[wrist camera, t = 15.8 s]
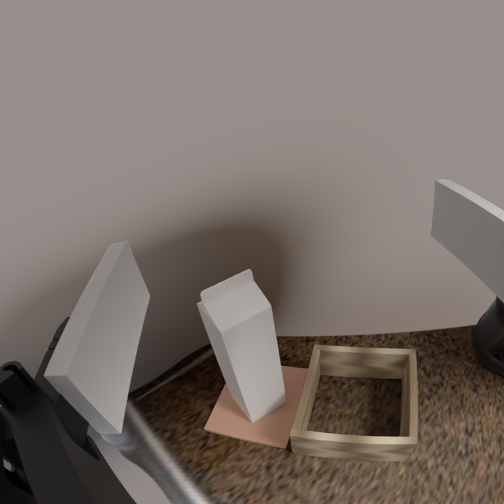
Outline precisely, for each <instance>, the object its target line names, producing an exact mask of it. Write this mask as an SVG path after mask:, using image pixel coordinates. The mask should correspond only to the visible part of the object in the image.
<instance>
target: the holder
mask: <svg viewBox="0 0 504 504" xmlns="http://www.w3.org/2000/svg"><path fill="white" fill-rule="evenodd" d="M320 375H330V376H343V377H359V378H383V379H402V396H401V422H400V437H379V436H357V435H343V434H331V433H321V432H313V431H307V427H308V423H309V420H310V416H311V412H312V408H313V404H314V400H315V395H316V391H317V387H318V382H319V378H320ZM417 433H418V383H417V362H416V349H388V348H361V347H343V346H328V345H314V348H313V352H312V356H311V360H310V364H309V368H308V372H307V376H306V380H305V384H304V387H303V391H302V395H301V398H300V402H299V406H298V409H297V413H296V416H295V419H294V423H293V426H292V430H291V433H290V441H291V447H292V453H295V454H301V455H309V456H317V457H325V458H335V459H347V460H364V461H405V460H406V459H407V457H408V456H409V455H410V453H411V452H412V450H413V449H414V448H415V446H416V445H417Z"/></svg>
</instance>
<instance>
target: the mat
mask: <svg viewBox="0 0 504 504" xmlns="http://www.w3.org/2000/svg"><path fill="white" fill-rule="evenodd" d="M281 370H282V376H283V382H284V388H285V395H286V402H285V403H284V404H282V405H281V406H279V407H278V408H276V409H275V410H273V411H271V412H270V413H268V414H267V415H265V416H263V417H262V418H260V419H258V420H257V421H255V422H253V423H252V422H251V421H250V420H249V418H248V417H247V416H246V414H245V413H244V412H243V411H242V409H241V408H240V407H239V406H238V404H237V403H236V402H235V400H234V399H233V398H232V396H231V394H230V391H229V389H228V386H227V384H225V386H224V388H223V390H222V392H221V395H220V397H219V399H218V401H217V403H216V405H215V407H214V409H213V411H212V413H211V415H210V417H209V419H208V421H207V423H206V425H205V427H204V430H205V431H208V432H212V433H216V434H219V435H223V436H227V437H231V438H235V439H239V440H244V441H248V442H253V443H258V444H262V445H267V446H273V447H278V448H284V449H286V448H287V445H288V441H289V438H290V433H291V430H292V426H293V423H294V419H295V416H296V413H297V409H298V406H299V402H300V398H301V395H302V391H303V387H304V384H305V380H306V376H307V372H308V369H305V368H296V367H287V366H281Z"/></svg>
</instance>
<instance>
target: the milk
mask: <svg viewBox="0 0 504 504" xmlns="http://www.w3.org/2000/svg"><path fill="white" fill-rule="evenodd" d="M200 296H201V299H202V301H201V302H199V303H197V305H198V309H199V311H200V314H201V317H202V320H203V323H204V326H205V328H206V331H207V334H208V336H209V339H210V342H211V345H212V347H213V350H214V353H215V355H216V358H217V361H218V363H219V366H220V368H221V371H222V374H223V376H224V379H225V381H226V384H227V386H228V389H229V391H230V394H231V396H232V398H233V399H234V400H235V402H236V403H237V404H238V406H239V407H240V408H241V409H242V411H243V412H244V413H245V414H246V416H247V417H248V418H249V420H250V421H251V422H252V423H253V422H255V421H257V420H258V419H260V418H262V417H263V416H265V415H267V414H268V413H270V412H271V411H273V410H275V409H276V408H278V407H279V406H281V405H282V404H284V403H285V402H286V395H285V388H284V382H283V376H282V370H281V363H280V357H279V351H278V345H277V339H276V333H275V326H274V320H273V314H272V308H271V305H270V303H269V302H268V300H267V299H266V297H265V296H264V294H263V293H262V292H261V290H260V289H259V287H258V286H257V285H256V283H255V282H254V280H253V275H252V271H251V270H250V269H248V270H246V271H243V272H242V273H239V274H237V275H235V276H233V277H231V278H229V279H227V280H225V281H223V282H220V283H218V284H216V285H214V286H212V287H210V288H208V289H206V290H204V291H202V292H201V295H200Z"/></svg>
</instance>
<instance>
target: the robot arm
mask: <svg viewBox="0 0 504 504" xmlns="http://www.w3.org/2000/svg"><path fill="white" fill-rule="evenodd" d="M434 194H435V195H434V209H433V221H432V230H431V236H432V237H433V238H434V239H436V240H437V241H438V242H439V243H440V244H442V245H443V246H444V247H445V248H447V250H448V251H450V252H451V253H452V254H453V255H454V256H455V257H456V258H458V259H459V260H460V261H461V262H462V263H463V264H464V265H465V266H466V267H467V268H469V269H470V270H471V271H472V272H473V273H474V274H475V275H476V276H477V277H478V278H479V279H480V280H481V281H482V282H483V283H484V284H485V285H486V286H487V287H489V288H490V289H491V290H492V291H493V292H494V293H495V294H496V295H497V297H496V299H495V301H494V302H493V304H492V305H491V306H490V307H489V309H488V310H487V312H485V313H484V314H483V316H482V317H481V318H480V320H479V321H478V323H477V326H476V329H475V331H474V335H473V345H474V349H475V352H476V354H477V356H478V357H479V359H480V360H481V362H482V363H483V364H484V365H485V366H486V367H487V368H489V369H490V370H491V371H493V372H495V373H497V374H499V375H501V376H504V211H503V210H501V209H500V208H498V207H497V206H495V205H493V204H492V203H490V202H488V201H487V200H485V199H483V198H481V197H480V196H478V195H476V194H475V193H473V192H471V191H469V190H467V189H466V188H464V187H462V186H460V185H458V184H456V183H454V182H452V181H451V180H449V179H442V180H435V193H434ZM149 299H150V294H149V292H148V290H147V288H146V285H145V284H144V281H143V278H142V276H141V274H140V271H139V269H138V266H137V264H136V261H135V259H134V256H133V254H132V251H131V249H130V246H129V244H128V241H127V240H126V241H122V242H118V243H114V244H111V245H110V246H109V248H108V249H107V251H106V253H105V255H104V256H103V258H102V260H101V261H100V263H99V265H98V266H97V268H96V270H95V272H94V273H93V275H92V277H91V279H90V281H89V282H88V284H87V286H86V288H85V290H84V292H83V294H82V296H81V297H80V299H79V301H78V303H77V305H76V307H75V309H74V311H73V313H72V315H71V317H67V319H66V320H65V321H64V322H63V323H62V324H61V325H60V326H59V327H58V329H57V331H56V333H55V335H54V337H53V341H52V342H51V344H50V346H49V348H48V349H49V350H48V351H47V352H46V354H45V356H44V359H43V361H42V363H41V365H40V368H39V370H38V372H37V375H36V377H35V379H33V378H32V377H31V376H30V375H29V374H28V372H27V371H26V370H25V369H24V368H23V366H22V365H21V364H20V363H19V362H16V361H12V362H8V363H6V364H4V365H3V366H1V367H0V404H1V405H2V406H3V407H0V504H136V502H135V501H134V500H133V499H132V497H131V496H130V495H129V493H128V492H127V491H126V489H125V488H124V487H123V485H122V484H121V482H120V481H119V480H118V478H117V477H116V475H115V474H114V472H113V471H112V469H111V468H110V466H109V465H108V463H107V462H106V460H105V459H104V457H103V456H102V454H101V452H100V451H99V449H98V448H97V446H96V444H95V443H94V441H93V439H92V438H91V437H90V436H89V435H88V434H87V430H88V425H89V424H90V425H91V426H92V427H93V428H94V429H95V430H96V431H97V432H99V434H121V432H122V426H123V420H124V414H125V408H126V402H127V397H128V392H129V386H130V381H131V375H132V371H133V366H134V362H135V357H136V353H137V348H138V344H139V339H140V335H141V331H142V327H143V322H144V318H145V314H146V310H147V307H148V302H149ZM3 459H5V460H6V461H7V462H9V463H10V464H11V468H12V469H11V471H9V470H8V469H6V468H5V467H4V464H3Z"/></svg>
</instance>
